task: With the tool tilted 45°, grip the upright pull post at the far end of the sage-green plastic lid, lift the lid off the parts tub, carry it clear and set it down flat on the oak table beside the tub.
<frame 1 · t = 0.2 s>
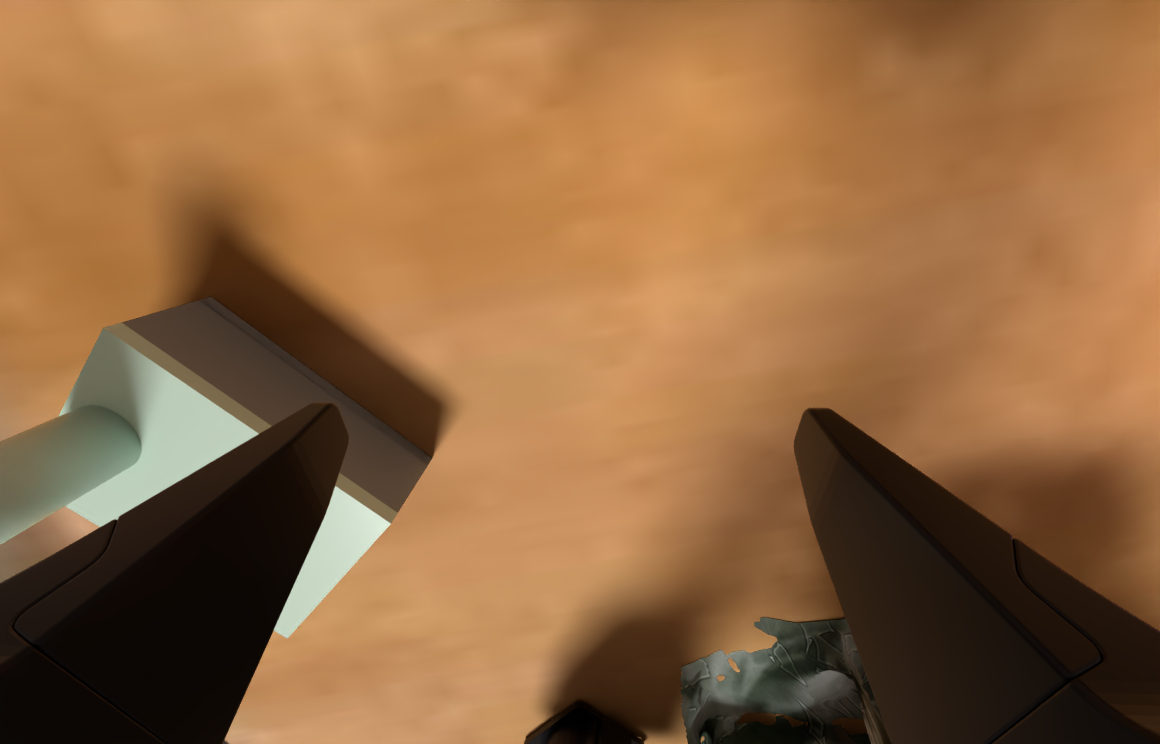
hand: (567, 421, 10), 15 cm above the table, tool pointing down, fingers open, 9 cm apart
lid: (219, 492, 24), point 5 cm above the table, touching parts tub
parts tub: (283, 441, 28), on the table
rose bouquet: (848, 713, 34), on the table
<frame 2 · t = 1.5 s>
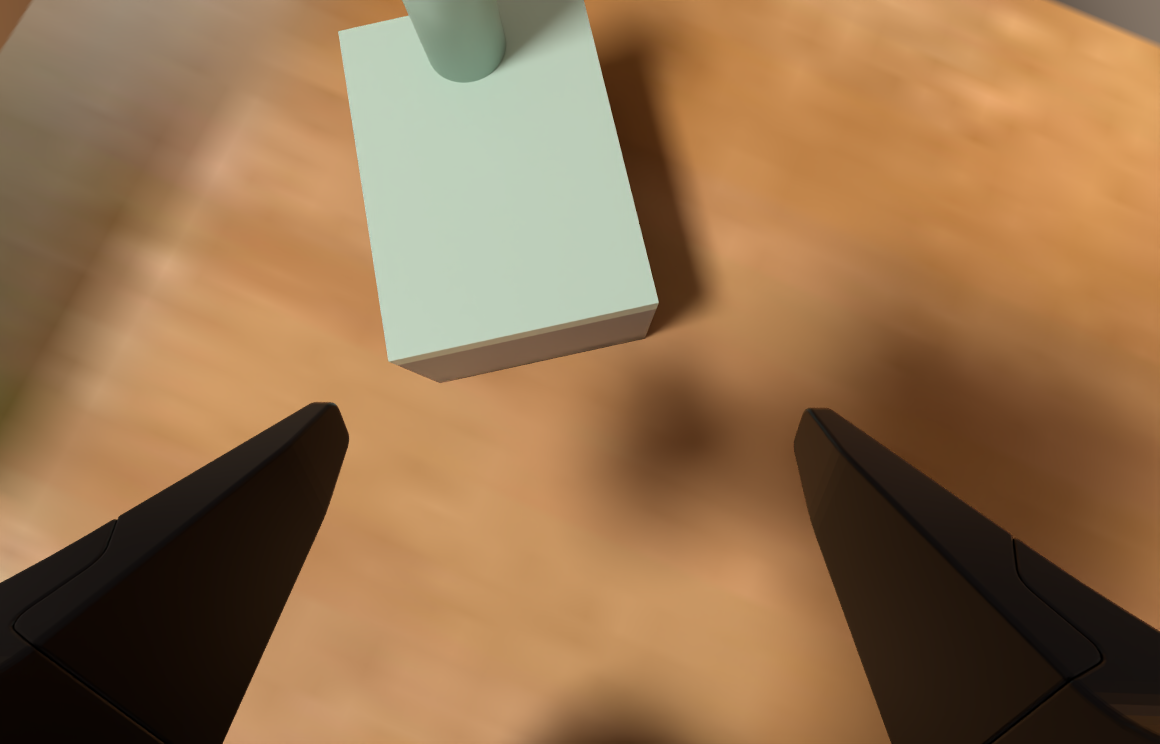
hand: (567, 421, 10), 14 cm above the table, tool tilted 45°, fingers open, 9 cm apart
lid: (493, 170, 20), point 5 cm above the table, touching parts tub
parts tub: (514, 226, 25), on the table
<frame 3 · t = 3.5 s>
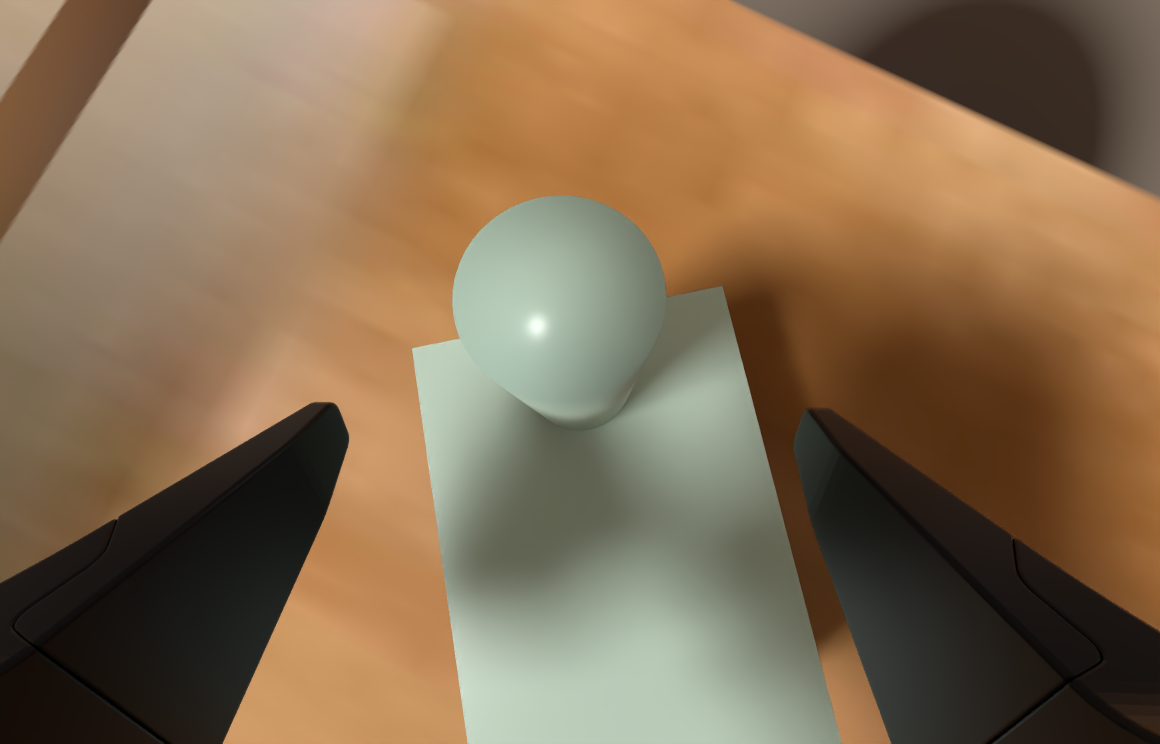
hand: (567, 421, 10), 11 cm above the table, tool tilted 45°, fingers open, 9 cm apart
lid: (611, 539, 15), point 5 cm above the table, touching parts tub
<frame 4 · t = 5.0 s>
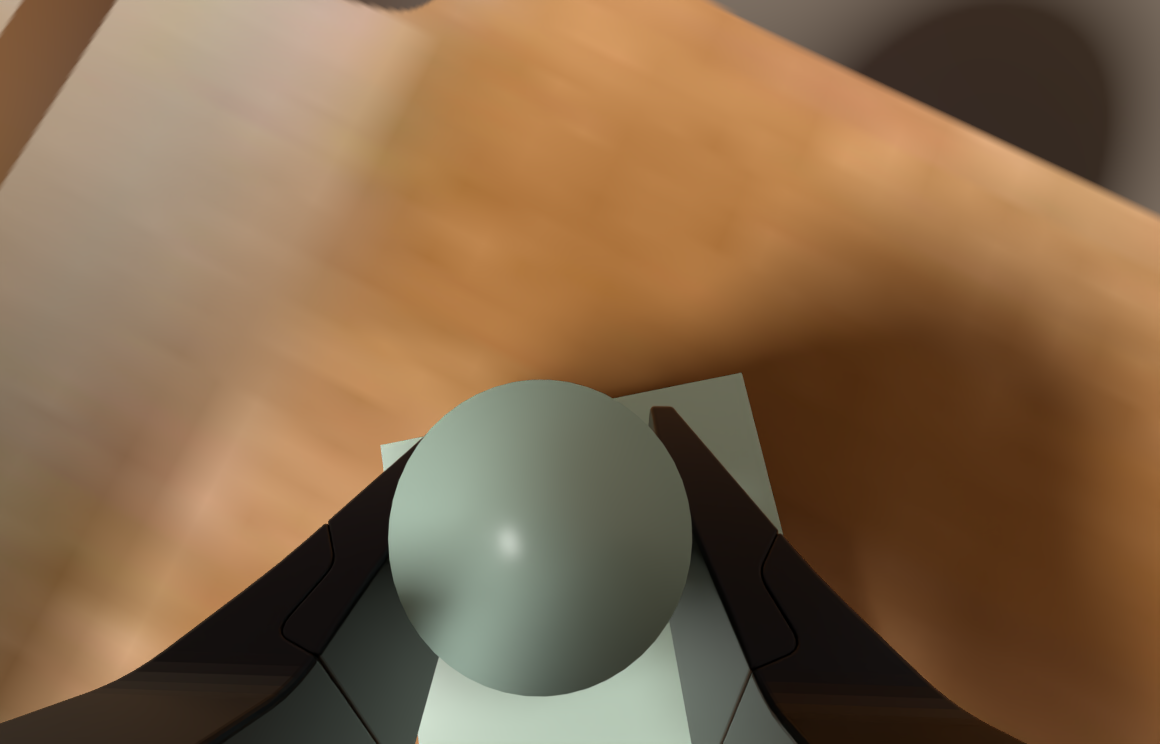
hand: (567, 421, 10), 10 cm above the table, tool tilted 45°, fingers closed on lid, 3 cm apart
lid: (612, 671, 13), point 5 cm above the table, touching gripper, parts tub
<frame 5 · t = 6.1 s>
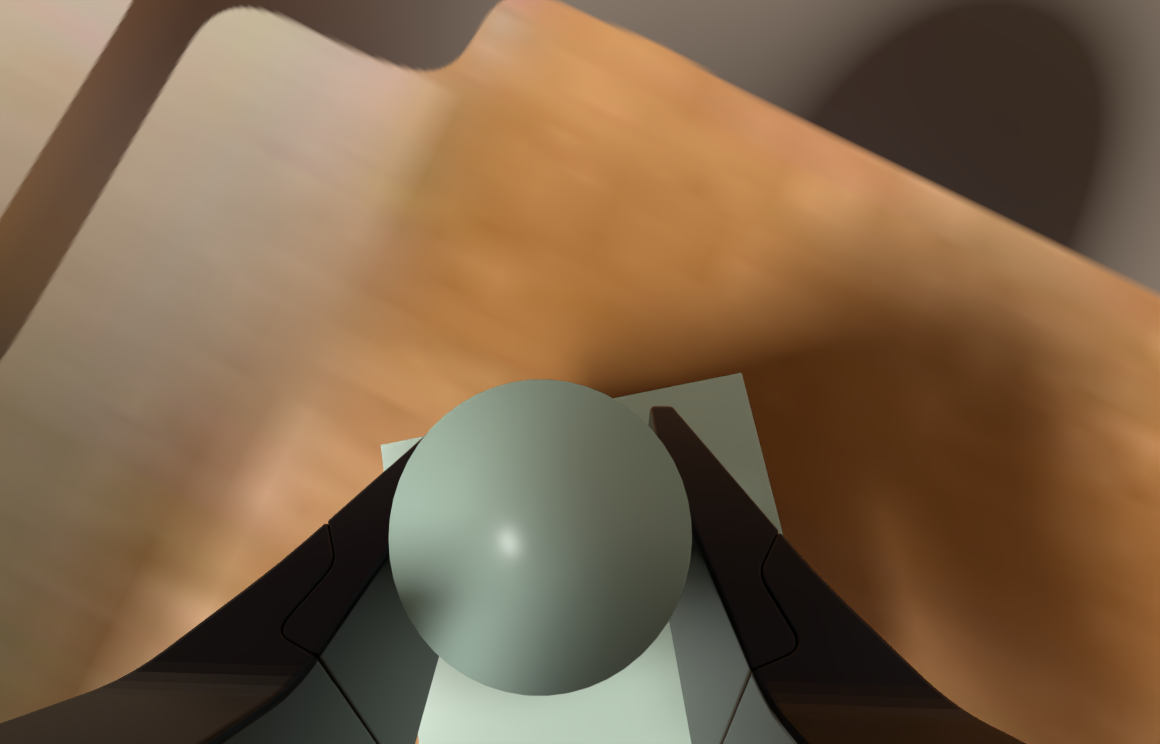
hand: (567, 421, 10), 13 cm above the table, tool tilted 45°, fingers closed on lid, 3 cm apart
lid: (612, 670, 13), point 9 cm above the table, touching gripper
when the fingers open (7 cm above the table, at t = 11.0 s): lid drops 2 cm, on the table.
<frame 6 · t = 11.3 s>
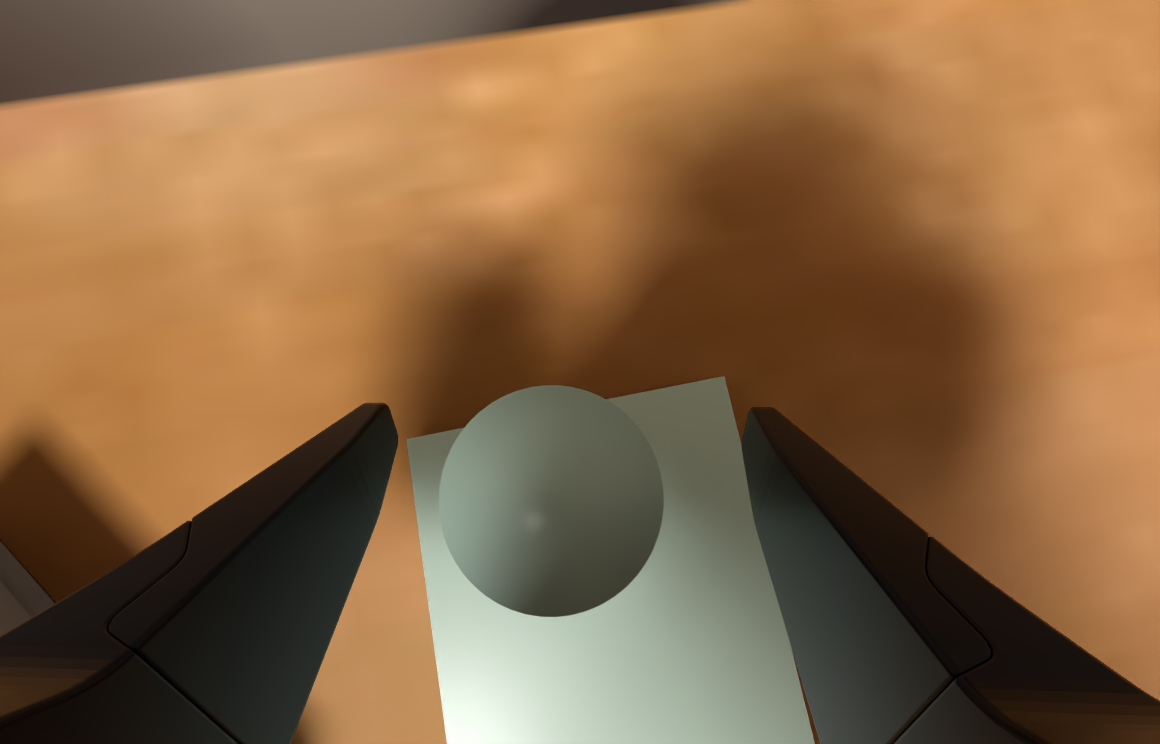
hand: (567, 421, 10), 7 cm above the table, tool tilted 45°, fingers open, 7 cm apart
lid: (609, 637, 15), on the table
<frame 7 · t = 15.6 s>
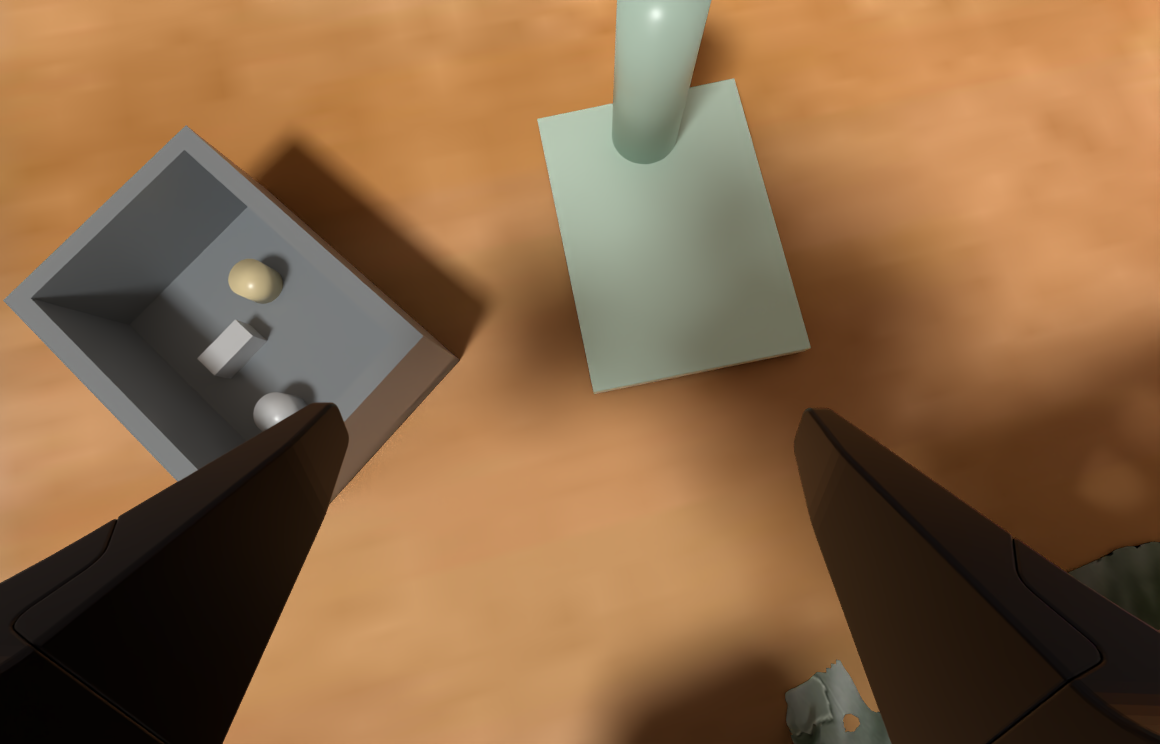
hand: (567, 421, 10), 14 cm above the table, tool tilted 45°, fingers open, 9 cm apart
lid: (665, 235, 24), on the table
parts tub: (287, 345, 24), on the table
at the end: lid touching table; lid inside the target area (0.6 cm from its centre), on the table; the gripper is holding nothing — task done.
